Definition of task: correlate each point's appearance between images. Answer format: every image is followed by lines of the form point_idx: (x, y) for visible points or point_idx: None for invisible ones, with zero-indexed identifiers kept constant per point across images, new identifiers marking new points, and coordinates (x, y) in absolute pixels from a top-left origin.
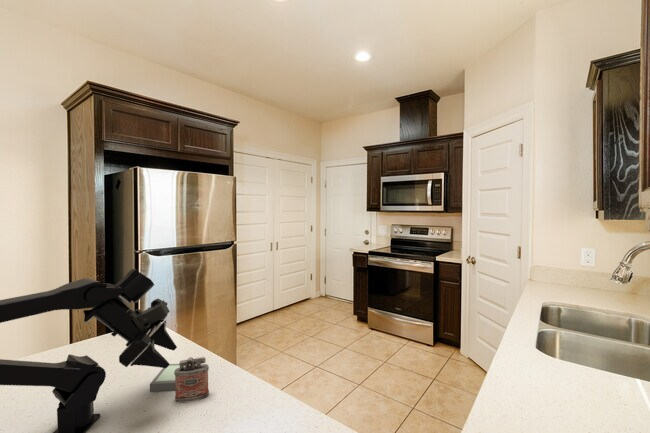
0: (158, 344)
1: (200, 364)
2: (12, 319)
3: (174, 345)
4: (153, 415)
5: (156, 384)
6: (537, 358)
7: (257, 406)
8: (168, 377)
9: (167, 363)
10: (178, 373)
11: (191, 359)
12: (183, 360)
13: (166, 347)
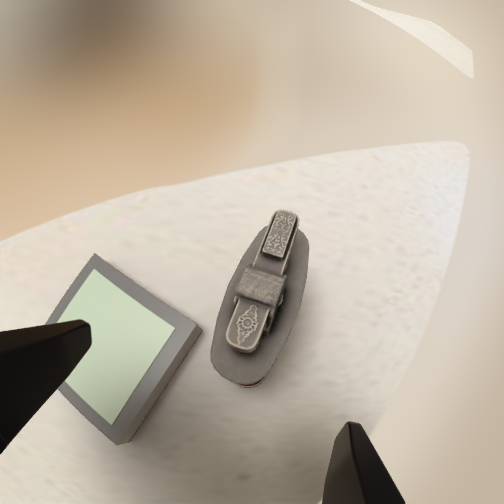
0: (21, 423)
1: (247, 251)
2: None
3: (73, 331)
4: (291, 457)
5: (130, 426)
6: (388, 12)
7: (398, 195)
8: (113, 379)
9: (366, 435)
10: (269, 366)
11: (271, 276)
12: (236, 321)
13: (58, 382)
